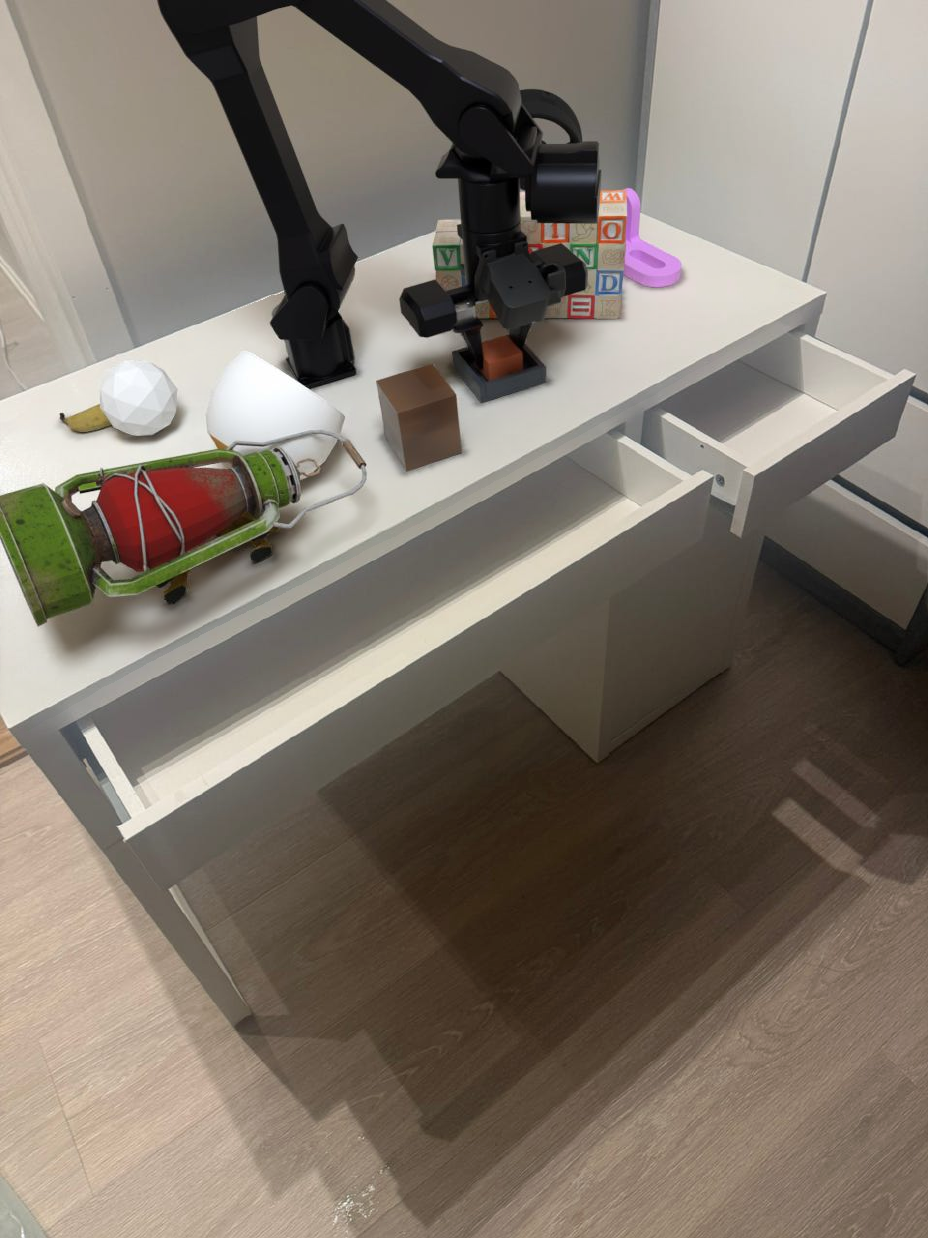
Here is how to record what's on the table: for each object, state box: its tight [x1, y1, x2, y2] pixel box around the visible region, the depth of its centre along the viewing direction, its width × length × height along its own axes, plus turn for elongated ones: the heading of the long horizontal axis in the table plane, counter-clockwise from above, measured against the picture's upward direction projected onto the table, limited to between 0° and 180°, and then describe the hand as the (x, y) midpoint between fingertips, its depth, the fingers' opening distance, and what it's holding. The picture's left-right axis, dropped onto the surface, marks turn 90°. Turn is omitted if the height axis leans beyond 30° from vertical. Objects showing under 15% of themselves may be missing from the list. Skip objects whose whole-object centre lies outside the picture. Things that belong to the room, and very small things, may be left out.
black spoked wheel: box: [513, 88, 583, 192], centre depth 119 cm, size 14×14×10 cm
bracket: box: [622, 187, 682, 288], centre depth 111 cm, size 13×6×7 cm, turn 35°
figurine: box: [153, 512, 281, 605], centre depth 84 cm, size 15×6×13 cm
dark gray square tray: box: [451, 333, 547, 404], centre depth 100 cm, size 8×8×2 cm
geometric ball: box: [99, 359, 178, 437], centre depth 96 cm, size 8×8×8 cm
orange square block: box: [474, 334, 523, 381], centre depth 99 cm, size 4×4×2 cm
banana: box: [58, 403, 112, 433], centre depth 99 cm, size 10×2×4 cm
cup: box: [205, 349, 346, 481], centre depth 88 cm, size 12×12×10 cm
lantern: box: [0, 430, 368, 627], centre depth 77 cm, size 14×11×30 cm
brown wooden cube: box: [375, 362, 462, 472], centre depth 91 cm, size 6×6×7 cm
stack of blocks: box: [432, 189, 627, 320], centre depth 105 cm, size 21×6×12 cm, turn 84°
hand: (497, 361), depth 99 cm, fingers closed on orange square block, 4 cm apart
